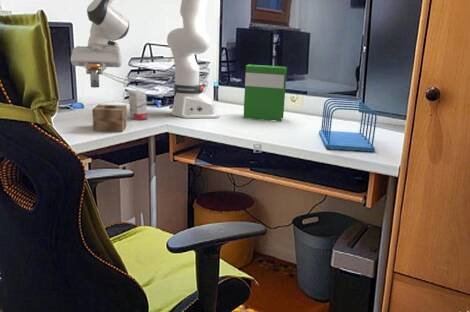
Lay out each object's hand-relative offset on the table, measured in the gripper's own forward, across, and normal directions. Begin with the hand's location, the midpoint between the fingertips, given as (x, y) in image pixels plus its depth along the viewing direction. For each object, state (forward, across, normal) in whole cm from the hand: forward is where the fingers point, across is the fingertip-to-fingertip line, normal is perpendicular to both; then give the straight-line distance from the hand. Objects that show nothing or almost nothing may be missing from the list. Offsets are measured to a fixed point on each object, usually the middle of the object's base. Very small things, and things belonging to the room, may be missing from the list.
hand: (94, 73), depth 192 cm
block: (+23, +8, +6) cm, 25 cm away
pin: (+4, 0, +4) cm, 6 cm away
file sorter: (+32, +99, -2) cm, 104 cm away
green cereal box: (+1, +73, +29) cm, 78 cm away
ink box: (+7, +16, +22) cm, 28 cm away
